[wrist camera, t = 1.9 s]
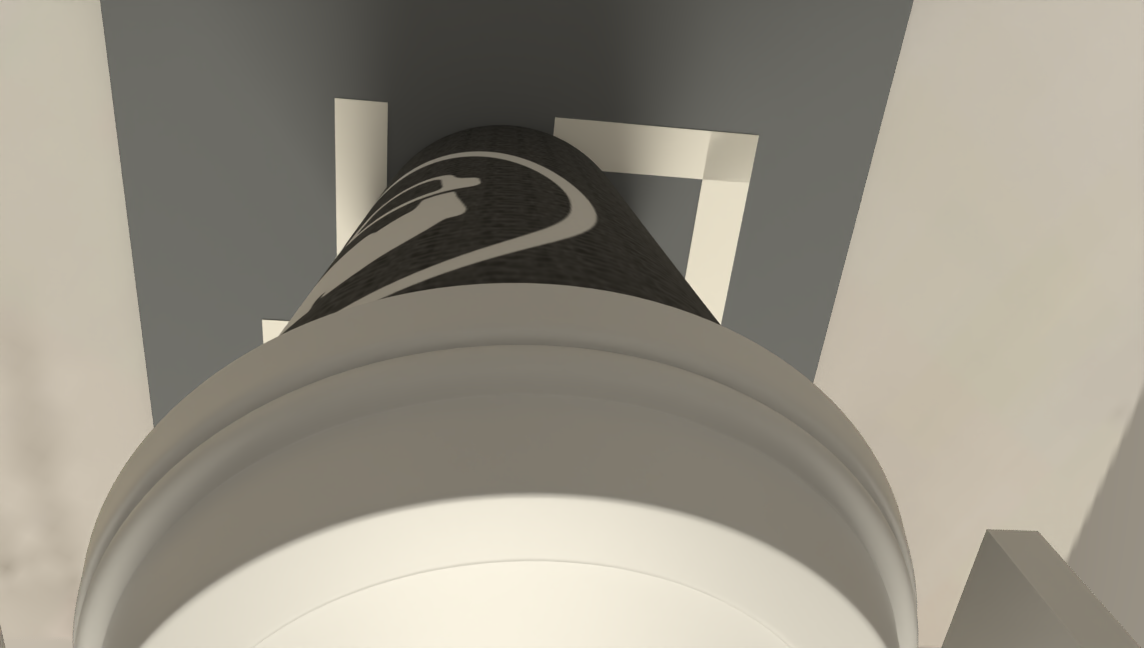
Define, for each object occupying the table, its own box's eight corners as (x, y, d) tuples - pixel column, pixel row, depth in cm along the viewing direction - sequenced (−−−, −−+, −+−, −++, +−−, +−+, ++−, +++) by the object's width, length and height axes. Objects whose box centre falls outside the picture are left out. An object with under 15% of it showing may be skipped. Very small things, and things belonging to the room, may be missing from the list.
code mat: (80, -207, 17) (73, -210, 17) (933, -101, 19) (940, -101, 19) (169, 516, 25) (165, 523, 25) (768, 534, 27) (771, 541, 27)
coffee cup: (340, 425, 24) (138, 1118, 10) (274, 67, 19) (-223, 448, 6) (684, 400, 24) (922, 1026, 11) (694, 46, 20) (1110, 354, 6)
